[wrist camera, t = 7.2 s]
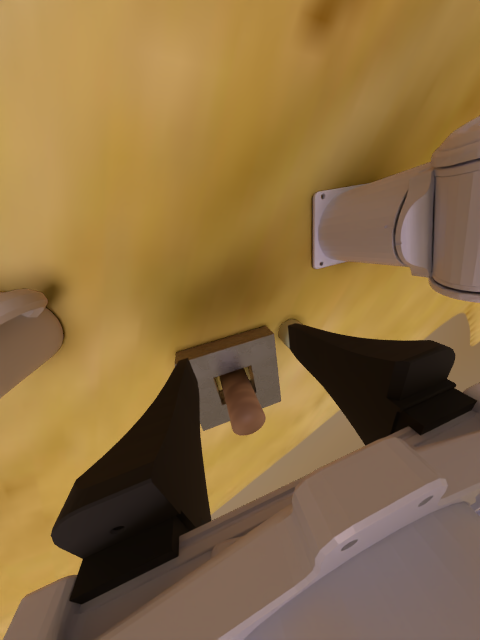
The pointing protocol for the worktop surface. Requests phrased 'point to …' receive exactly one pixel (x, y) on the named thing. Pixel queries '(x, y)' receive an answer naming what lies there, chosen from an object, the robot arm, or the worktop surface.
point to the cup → (25, 335)
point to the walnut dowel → (242, 403)
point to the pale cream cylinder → (286, 331)
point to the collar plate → (231, 356)
